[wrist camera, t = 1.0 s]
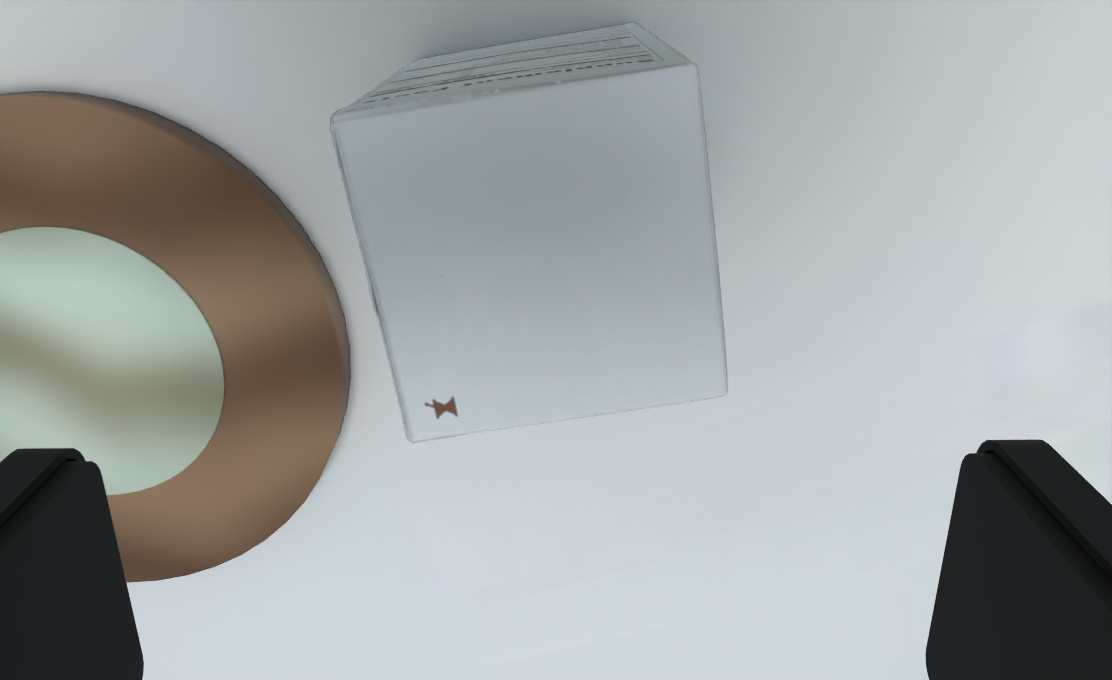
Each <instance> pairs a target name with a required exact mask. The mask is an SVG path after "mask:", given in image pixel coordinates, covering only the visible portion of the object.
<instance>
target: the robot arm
mask: <svg viewBox="0 0 1112 680" xmlns="http://www.w3.org/2000/svg"><path fill="white" fill-rule="evenodd" d="M143 666H144V662H143V655H142V650H141V646H140V642H139V637H138V633H137V628H136V624H135V619H134V615H133V611H132V606H131V602H130V597H129V593H128V588H127V584H126V579H125V575H124V571H123V566H122V562H121V557H120V553H119V548H118V544H117V540H116V535H115V531H114V526H113V522H112V517H111V513H110V509H109V504H108V500H107V495H106V491H105V486H104V482H103V478H102V474H101V471H100V468H99V467H98V465H97V464H96V463H94V462H93V461H85V458H84V457H83V455H82V454H81V452H80V451H78V450H76V449H75V448H24V449H16V450H15V451H13V452H11V453H10V454H9V455H8V456H7V457H6V458H4V459H3V460H2V461H1V462H0V680H142V677H143ZM926 667H927V673H928V677H929V680H1112V505H1111V504H1110V503H1109V502H1108V501H1107V500H1106V499H1105V498H1104V497H1103V496H1102V495H1101V494H1100V493H1099V492H1098V491H1097V490H1096V489H1095V488H1094V487H1093V486H1092V485H1091V484H1090V483H1089V482H1088V481H1086V480H1085V479H1084V478H1083V477H1082V476H1081V475H1080V474H1079V473H1078V472H1077V471H1076V470H1075V469H1074V468H1073V467H1072V466H1071V465H1070V464H1069V463H1068V462H1067V461H1066V460H1065V459H1064V458H1063V457H1062V456H1061V455H1060V454H1059V453H1057V452H1056V451H1055V450H1054V449H1053V448H1052V447H1051V446H1050V445H1049V444H1048V443H1046V442H1045V441H1043V440H987V441H985V442H983V443H982V444H981V446H980V447H979V449H978V450H977V453H971V454H968V455H966V456H965V457H964V459H963V461H962V464H961V467H960V472H959V477H958V483H957V488H956V493H955V499H954V504H953V509H952V515H951V520H950V525H949V530H948V536H947V541H946V546H945V552H944V557H943V562H942V568H941V573H940V578H939V584H938V589H937V594H936V600H935V605H934V610H933V615H932V621H931V626H930V631H929V637H928V642H927V647H926Z"/></svg>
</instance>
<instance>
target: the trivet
mask: <svg viewBox="0 0 1112 680" xmlns="http://www.w3.org/2000/svg"><path fill="white" fill-rule="evenodd" d="M349 386H350V347H349V342H348V336H347V330H346V324H345V319H344V315H343V312H342V309H341V305H340V302H339V299H338V296H337V293H336V290H335V286H334V284H333V282H332V280H331V278H330V276H329V274H328V271H327V269H326V267H325V265H324V263H323V261H322V259H321V256H320V255H319V253H318V252H317V250H316V248H315V247H314V245H313V244H312V242H311V240H310V239H309V237H308V236H307V234H306V232H305V231H304V229H303V228H302V226H301V225H300V224H299V222H298V221H297V220H296V219H295V217H294V216H293V215H292V214H291V213H290V211H289V210H288V209H287V208H286V206H285V205H284V204H283V203H282V201H281V200H280V199H279V198H278V197H277V196H276V195H275V194H274V193H273V192H272V191H271V190H270V189H269V188H268V187H267V186H266V185H265V184H264V183H263V182H262V181H261V180H260V179H259V178H258V177H257V176H256V175H255V174H254V173H252V172H251V171H250V170H249V169H247V168H246V167H245V166H244V165H242V164H241V163H240V162H238V161H237V160H236V159H235V158H233V157H232V156H231V155H229V154H228V153H227V152H225V151H224V150H223V149H222V148H220V147H218V146H217V145H215V144H213V143H212V142H210V141H208V140H207V139H205V138H203V137H202V136H200V135H198V134H197V133H195V132H193V131H192V130H190V129H188V128H186V127H184V126H182V125H180V124H177V123H175V122H173V121H171V120H169V119H166V118H164V117H162V116H160V115H158V114H155V113H153V112H150V111H147V110H144V109H141V108H138V107H135V106H131V105H128V104H125V103H122V102H119V101H116V100H110V99H105V98H100V97H94V96H89V95H84V94H79V93H63V92H46V91H37V92H23V93H10V94H2V95H0V462H1V461H2V460H3V459H4V458H6V457H7V456H8V455H9V454H10V453H11V452H13V451H15V450H16V449H24V448H75V449H76V450H78V451H80V452H81V454H82V455H83V457H84V458H85V461H93V462H94V463H96V464H97V465H98V467H99V468H100V471H101V474H102V478H103V482H104V486H105V491H106V495H107V500H108V504H109V509H110V513H111V517H112V522H113V526H114V531H115V535H116V540H117V544H118V548H119V553H120V557H121V562H122V566H123V571H124V575H125V579H126V582H141V581H157V580H163V579H168V578H174V577H180V576H185V575H189V574H193V573H196V572H199V571H202V570H206V569H209V568H212V567H215V566H218V565H220V564H222V563H224V562H227V561H229V560H231V559H233V558H235V557H238V556H240V555H242V554H243V553H245V552H247V551H248V550H250V549H252V548H253V547H255V546H256V545H258V544H260V543H261V542H263V541H264V540H266V539H267V538H268V537H269V536H271V535H272V534H273V533H274V532H275V531H276V530H278V529H279V528H280V527H281V526H282V525H284V524H285V523H286V522H287V521H288V520H289V519H290V518H291V516H292V515H293V514H294V513H295V512H296V511H297V510H298V509H299V507H300V506H301V505H302V504H303V503H304V502H305V500H306V499H307V497H308V496H309V494H310V493H311V491H312V489H313V488H314V486H315V485H316V483H317V482H318V480H319V479H320V476H321V474H322V472H323V470H324V468H325V465H326V463H327V461H328V459H329V456H330V454H331V452H332V450H333V447H334V445H335V443H336V440H337V438H338V436H339V433H340V430H341V427H342V423H343V419H344V416H345V412H346V408H347V403H348V394H349Z"/></svg>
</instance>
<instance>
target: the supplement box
mask: <svg viewBox="0 0 1112 680" xmlns="http://www.w3.org/2000/svg"><path fill="white" fill-rule="evenodd" d="M330 130H331V136H332V140H333V143H334V147H335V151H336V155H337V160H338V164H339V168H340V172H341V176H342V179H343V183H344V187H345V190H346V194H347V198H348V202H349V206H350V210H351V214H352V218H353V222H354V226H355V230H356V234H357V238H358V242H359V246H360V250H361V254H362V258H363V262H364V266H365V270H366V275H367V280H368V285H369V290H370V295H371V299H372V304H373V308H374V311H375V313H376V316H377V319H378V322H379V326H380V329H381V334H382V338H383V342H384V346H385V350H386V354H387V357H388V361H389V365H390V369H391V374H392V378H393V382H394V386H395V391H396V394H397V398H398V402H399V406H400V410H401V414H402V419H403V424H404V428H405V433H406V437H407V439H408V440H409V441H410V442H412V443H418V442H423V441H429V440H435V439H441V438H447V437H453V436H459V435H465V434H471V433H478V432H485V431H492V430H499V429H506V428H513V427H519V426H526V425H533V424H541V423H549V422H555V421H562V420H568V419H575V418H583V417H590V416H597V415H604V414H611V413H617V412H624V411H631V410H638V409H644V408H651V407H659V406H665V405H672V404H680V403H686V402H693V401H700V400H705V399H711V398H716V397H721V396H724V395H725V394H726V393H727V392H728V379H727V361H726V346H725V335H724V323H723V311H722V300H721V288H720V277H719V265H718V255H717V245H716V235H715V225H714V216H713V206H712V196H711V186H710V176H709V165H708V154H707V144H706V133H705V123H704V115H703V107H702V98H701V90H700V82H699V74H698V68H697V64H695V63H693V62H692V61H690V60H689V59H687V58H686V57H685V56H683V55H682V54H680V53H679V52H677V51H676V50H675V49H673V48H672V47H670V46H669V45H668V44H666V43H664V42H663V41H662V40H660V39H659V38H657V37H656V36H654V35H653V34H652V33H651V32H649V31H647V30H646V29H645V28H643V27H642V26H640V25H639V24H637V23H628V24H623V25H617V26H612V27H606V28H600V29H594V30H587V31H581V32H575V33H569V34H563V35H557V36H550V37H544V38H539V39H533V40H527V41H521V42H515V43H509V44H503V45H497V46H491V47H485V48H479V49H473V50H468V51H463V52H457V53H451V54H445V55H439V56H434V57H429V58H424V59H418V60H416V61H414V62H413V63H411V64H410V65H408V66H406V67H404V68H403V69H401V70H400V71H398V72H397V73H395V74H394V75H392V76H391V77H390V78H389V79H387V80H385V81H384V82H383V83H381V84H380V85H379V86H377V87H376V88H374V89H373V90H371V91H370V92H369V93H367V94H366V95H364V96H363V97H362V98H360V99H359V100H357V101H356V102H354V103H352V104H351V105H349V106H347V107H345V108H342V109H339V110H337V111H336V112H334V113H333V114H332V116H331V118H330Z"/></svg>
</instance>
